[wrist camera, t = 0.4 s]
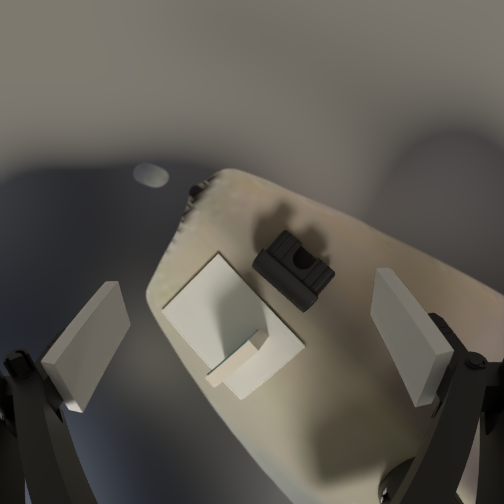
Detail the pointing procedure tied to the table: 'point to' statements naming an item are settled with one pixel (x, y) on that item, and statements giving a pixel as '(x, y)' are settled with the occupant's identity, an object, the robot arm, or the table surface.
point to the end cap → (293, 270)
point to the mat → (231, 325)
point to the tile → (237, 357)
